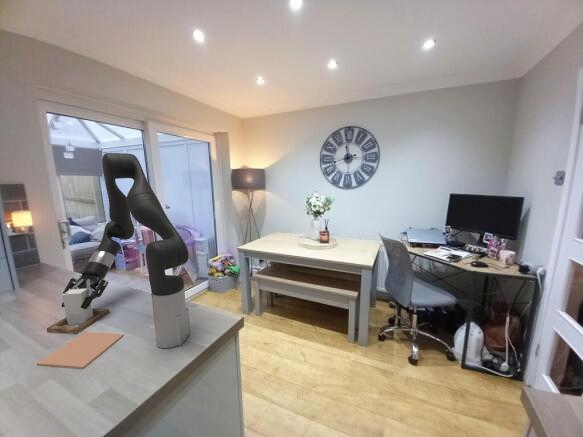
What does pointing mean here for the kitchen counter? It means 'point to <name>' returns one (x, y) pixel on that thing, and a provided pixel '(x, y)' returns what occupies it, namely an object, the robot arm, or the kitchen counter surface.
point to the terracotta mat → (81, 350)
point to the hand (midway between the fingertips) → (73, 307)
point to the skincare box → (76, 306)
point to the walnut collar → (60, 328)
